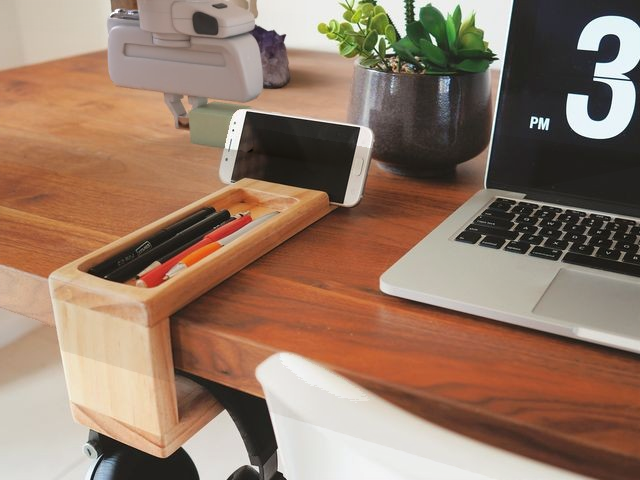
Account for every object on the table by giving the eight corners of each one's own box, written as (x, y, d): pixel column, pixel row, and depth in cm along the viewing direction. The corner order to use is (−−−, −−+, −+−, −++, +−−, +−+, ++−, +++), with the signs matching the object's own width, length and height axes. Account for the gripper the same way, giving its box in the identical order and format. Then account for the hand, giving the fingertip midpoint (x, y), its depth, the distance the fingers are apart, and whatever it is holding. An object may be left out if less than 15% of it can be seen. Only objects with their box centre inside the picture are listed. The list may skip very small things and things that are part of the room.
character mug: (269, 55, 148) (267, -13, 142) (238, 58, 144) (234, -12, 139) (246, 47, 156) (243, -18, 150) (215, 49, 152) (211, -17, 146)
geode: (315, 85, 125) (308, 26, 119) (253, 100, 120) (243, 39, 115) (267, 59, 140) (260, 6, 135) (211, 72, 135) (201, 17, 130)
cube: (191, 155, 88) (187, 110, 86) (216, 143, 93) (213, 101, 90) (230, 161, 87) (227, 116, 84) (253, 149, 91) (251, 106, 89)
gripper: (87, 9, 85) (104, 125, 91) (238, 22, 78) (245, 146, 84) (122, 4, 90) (136, 113, 96) (266, 16, 83) (271, 133, 90)
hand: (188, 129), depth 90 cm, fingers closed
